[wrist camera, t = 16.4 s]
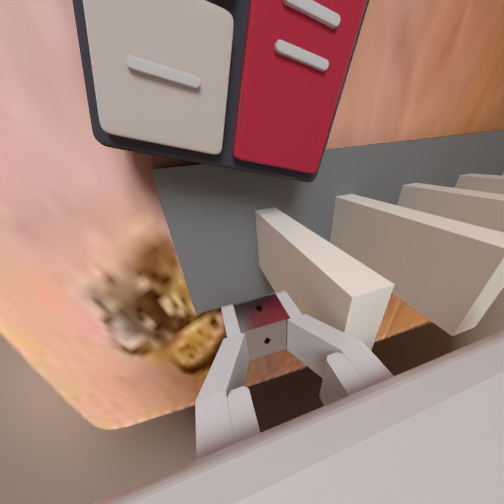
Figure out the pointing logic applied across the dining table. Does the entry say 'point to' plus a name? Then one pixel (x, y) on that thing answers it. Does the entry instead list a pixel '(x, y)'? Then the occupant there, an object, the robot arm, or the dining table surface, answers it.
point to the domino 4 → (481, 183)
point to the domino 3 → (424, 258)
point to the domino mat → (296, 203)
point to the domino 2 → (456, 204)
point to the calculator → (219, 78)
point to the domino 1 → (321, 276)
